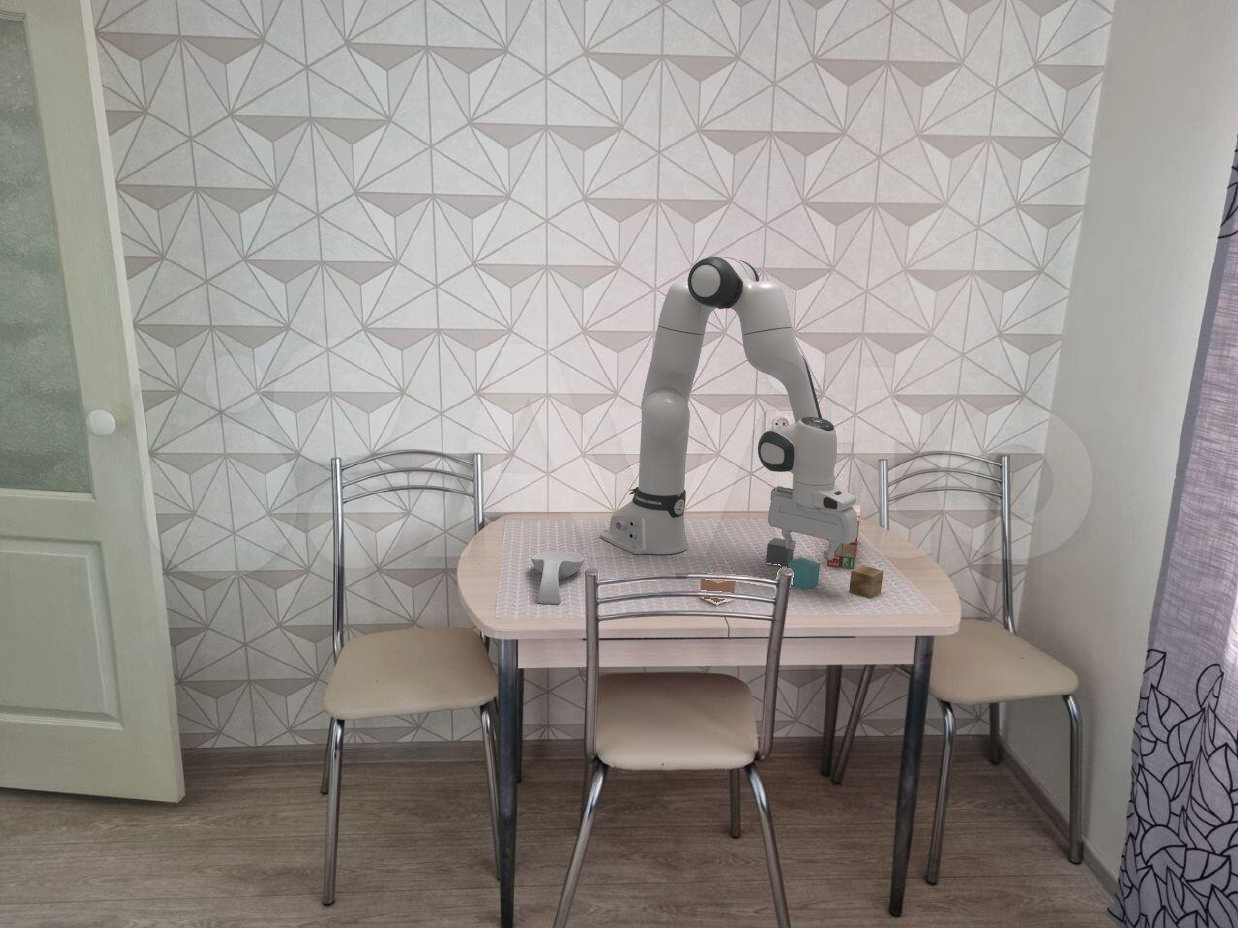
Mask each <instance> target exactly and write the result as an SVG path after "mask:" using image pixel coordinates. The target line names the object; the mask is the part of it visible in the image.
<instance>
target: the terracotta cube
mask: <svg viewBox="0 0 1238 928" xmlns="http://www.w3.org/2000/svg"><path fill="white" fill-rule="evenodd" d="M711 573H712V574H725V573H723V572H722V571H714V572H711ZM701 590H707V591H722V592H731V593H734V594H735V592H736V591H735V590H736V580H735V581H725V580H705V579H700V591H701ZM704 599H711V600H713V601H714V602H716V603H717V602H720V601H723V600H725V599H718V598H710V597H704Z"/></svg>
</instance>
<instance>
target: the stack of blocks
mask: <svg viewBox="0 0 1238 928" xmlns="http://www.w3.org/2000/svg"><path fill="white" fill-rule="evenodd" d="M852 507H853V508H854V509H855V511H856V514H857V537H856V539H855V540H854V541H853V542H851V543H849V544H842V543H840V545H839V546H838V547H837V549H836V550H835V551H834V558H833V559H832V560H828V559H827V560H826V561H827V564H826V566H828V567H833V568H841V569H842V568H843V569H849V570H853V569H855V564H856V558H857V557H856V556H857V546H858V536H859V528H860V521H861V519H860V518H861V504H855V505H853V506H852ZM831 546H832V545H829V546H828V547H829V548H828V549H830V548H831Z"/></svg>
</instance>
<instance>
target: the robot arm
mask: <svg viewBox="0 0 1238 928" xmlns="http://www.w3.org/2000/svg"><path fill="white" fill-rule="evenodd" d="M787 302H788V301H787V299H786V296H785V292H784V291H783V288H782V287H781V286H780V284H779V283H776V282H774V281H771V280H760V277H759V274H758V272H757V270H756V269H755V267H753V265H751V264H750V263H748V261H744V260H741V259H737V258H734V257H729V256H723V257H718V256H708V257H706V258H705V257H704V258H703V259H701V260H699V261H697V262H696V263H695V264H694V265H693V266H692V268H691V269H690V270H689V273H688V276H687V280H681V281H680V280H679V281H677V282H674V283H673V284H672V285H671V286H670V287H669V288H668V291H667V293H666V295H665V298H664V301H663V304H662V307H661V310H660V313H659V318H658V322H657V328H656V332H655V337H654V343H653V348H652V352H651V358H650V362H649V367H648V371H647V375H646V381H645V384H644V388H643V394H642V399H641V404H640V405H641V406H640V410H641V430H640V445H639V446H640V447H639V448H640V449H639V468H638V486H637V487H635V488H633V489H629V495H633V494H634V495H633V496H632V500H631V501H629V502H628V503H626V504H625V505H624V506H622V507H621V508H619V509H617V510H616V511H615V512H613V514H612V516H611V518H610V521H609V522H610V523H609V527H607V528H605V529H604V530H601V532H600V533H599V538H600V539H602V540H604V541H607V542H608V543H610V544H613V545H614V546H617V547H618V548H620V549H623V550H625V551H628V552H629V553H631V554H633V555H671V554H678V553H681V552H684V551H685V550H687V549H688V547H689V545H688V540H687V535H686V528H685V515H684V513H685V509H686V508H685V507H686V502H687V501H686V496H687V495H686V493H687V491H686V490H685V479H686V478H685V477H686V464H687V463H686V462H687V451H688V442H689V433H690V422H691V421H690V419H691V412H690V407H689V399H690V396H691V392H692V388H693V384H694V381H695V379H696V373H697V371H698V367H699V362H700V359H701V355H702V349H703V343H704V339H705V334H706V330H707V329H706V328H707V323H708V320H709V318H710V317H709V316H710V315H711V314H712V312H713V311H715V310H716V309H718V310H722V309H726V310H727V309H732V310H733V311H734V312H735V313H736V314H737V316H738V319H739V324H740V333H741V338H742V339H741V340H742V345H743V352H744V355H745V357H746V360H747V361H748V364H750V365H751V366H752V367H753V368H755V370H757V371H758V372H761V373H762V374H765V375H768V376H771V377H773V378H774V379H775V380H778V381H779V382H780V383H781V384H782V385H783V386H784V387H785V389H786V391H787V396H788V399H789V403H790V407H791V411H792V416H793V418H794V419H793V420H794V423H792V424H790V425H787V426H783V427H781V426H780V427H778V428H773V429H770V430H767V431H766V432H764V433H763V434H762V435H761V437H760V438H759V440H758V443H757V445H758V446H757V455H758V458H759V462H760V463H761V464H762V465H763V467H765V469H767V470H768V471H770V472H778V473H781V472H782V473H786V472H790V473H791V474H792V477H793V479H792V488H791V487H784V486H780V485H778V486H776V487H774V488H772V489H771V491H770V497H769V498H770V505H769V509H768V515H767V522H768V524H769V526H770V527H772V528H777V529H781V535H782V537H783V539H784V540H785V541H786V549H790V550H793V549H794V550H795V549H796V546H797V545H796V542H797V541H796V540H793V537H792V535H791V533H797V534H801V535H805V536H809V537H813V538H819V539H821V540H826V541H829V545H832V546H831V548H830V549H829V548H828V549H827V550H824V553H823V554H824V555H823V558H824V559H826V560H827V561H828V560H832V559H833V558H834V551H835V550H836V549H837V547H838V546H839V545H840V543H842V544H849V543H851V542H853V541H854V540H855V539H856V537H857V514H856V511H855V509H854V508H853V507H852V506H853V505H856V501H857V498H856V496H855V495H854V494H851V493H850V492H848V491H847V490H845V489H842V488H841V487H840V486H838V485H836V478H835V474H834V473H835V471H834V470H835V466H836V464H837V455H838V454H837V453H838V440H837V439H838V438H837V431H836V428H835V425H834V424H833V423H832V422H830V421H829V420H827V419H825V418H823V416H822V413H821V408H820V405H819V401H818V397H817V394H816V389H815V385H814V381H813V378H812V375H811V374H812V373H811V371H810V368H809V365H808V362H807V361H806V358H805V357H804V355H802V354H801V352H800V350H799V348H798V345H797V342H796V339H795V336H794V331H793V324H792V318H791V314H790V310H789V309H790V308H789V306H788V303H787Z"/></svg>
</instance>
